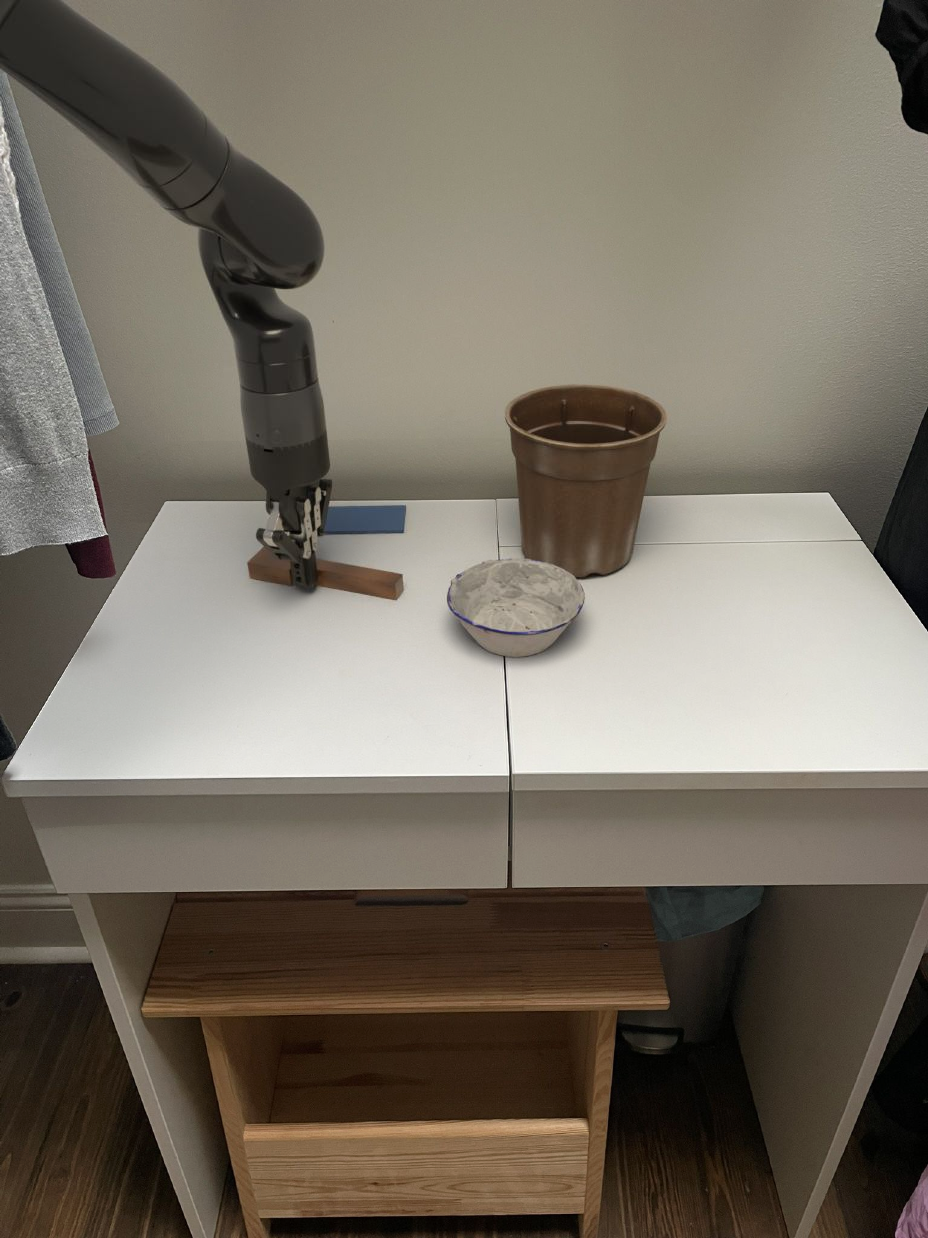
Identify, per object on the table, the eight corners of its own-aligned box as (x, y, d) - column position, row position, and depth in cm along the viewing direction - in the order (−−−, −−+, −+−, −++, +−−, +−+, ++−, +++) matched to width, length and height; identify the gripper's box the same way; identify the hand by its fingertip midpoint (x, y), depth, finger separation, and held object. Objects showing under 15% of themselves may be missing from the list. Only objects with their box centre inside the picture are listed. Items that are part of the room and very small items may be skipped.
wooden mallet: (407, 585, 99) (406, 568, 98) (392, 605, 96) (391, 589, 95) (268, 559, 103) (265, 543, 102) (249, 578, 100) (246, 562, 99)
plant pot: (533, 504, 113) (537, 373, 104) (667, 529, 107) (683, 393, 98) (480, 571, 101) (479, 429, 92) (628, 603, 95) (642, 456, 86)
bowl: (444, 672, 87) (442, 629, 84) (452, 595, 97) (450, 555, 94) (586, 675, 86) (589, 631, 83) (578, 597, 96) (581, 556, 94)
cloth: (405, 507, 113) (405, 504, 113) (403, 532, 108) (403, 529, 108) (322, 509, 113) (321, 506, 113) (316, 534, 108) (315, 531, 108)
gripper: (279, 397, 94) (299, 548, 104) (214, 451, 83) (243, 613, 93) (350, 404, 92) (363, 557, 102) (291, 460, 82) (312, 625, 91)
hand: (305, 584), depth 98 cm, fingers closed
